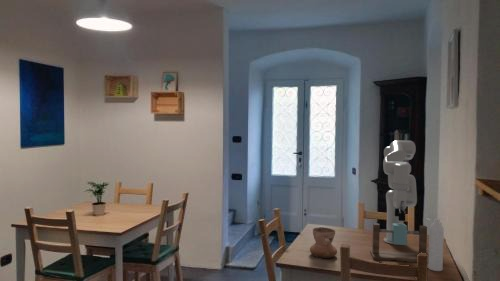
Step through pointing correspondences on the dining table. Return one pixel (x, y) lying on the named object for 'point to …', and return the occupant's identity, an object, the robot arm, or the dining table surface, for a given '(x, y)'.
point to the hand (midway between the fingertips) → (399, 218)
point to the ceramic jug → (323, 243)
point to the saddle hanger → (399, 234)
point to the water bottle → (435, 245)
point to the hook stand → (396, 255)
